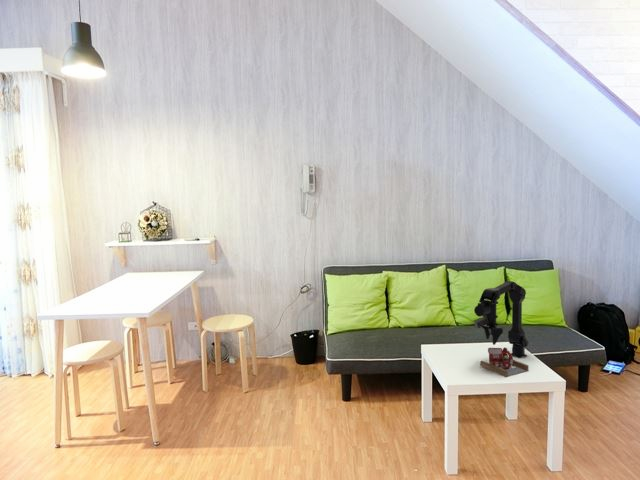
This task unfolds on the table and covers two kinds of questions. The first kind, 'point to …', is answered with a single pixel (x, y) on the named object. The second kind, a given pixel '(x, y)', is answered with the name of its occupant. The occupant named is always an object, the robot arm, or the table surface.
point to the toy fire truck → (500, 357)
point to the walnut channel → (500, 370)
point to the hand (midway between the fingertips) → (490, 341)
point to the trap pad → (514, 371)
